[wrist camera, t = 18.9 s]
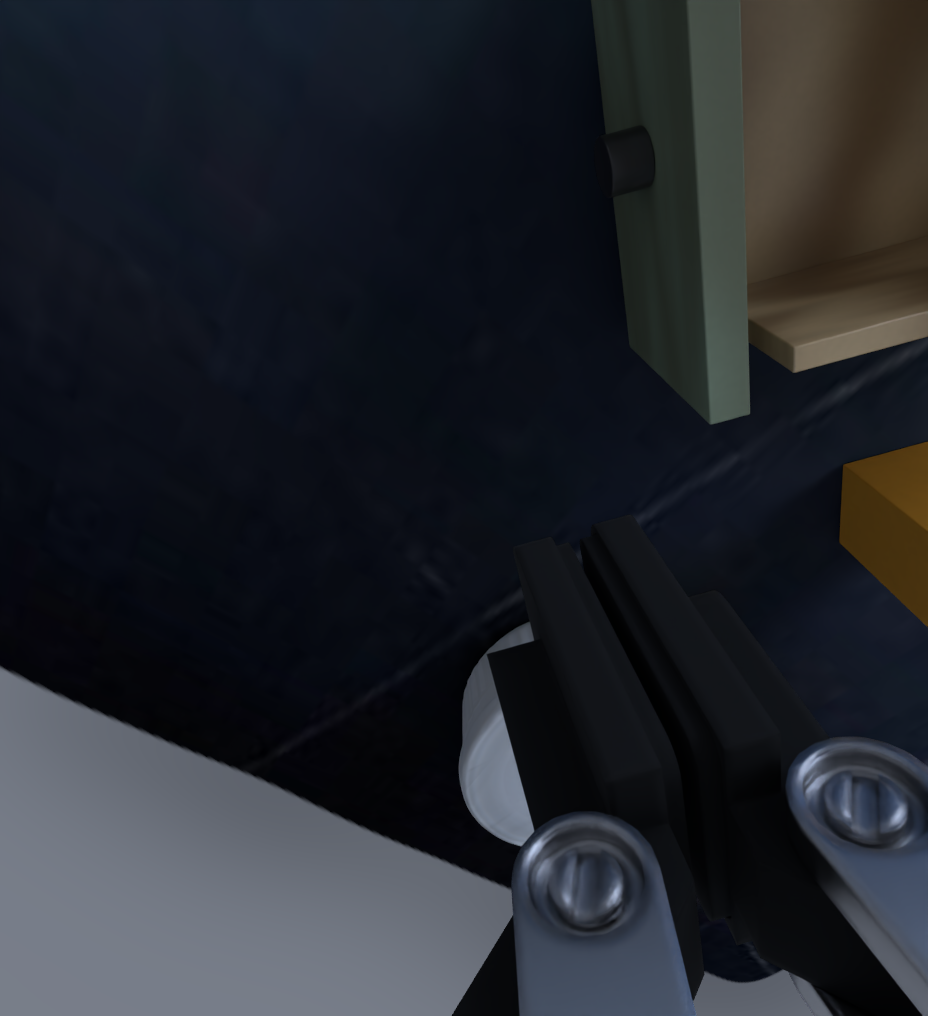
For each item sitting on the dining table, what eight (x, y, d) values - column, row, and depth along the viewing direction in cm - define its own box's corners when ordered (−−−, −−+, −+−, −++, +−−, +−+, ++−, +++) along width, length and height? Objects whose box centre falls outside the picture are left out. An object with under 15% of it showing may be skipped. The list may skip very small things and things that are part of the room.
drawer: (597, 355, 27) (669, 437, 21) (532, -118, 20) (613, -191, 14) (964, 255, 27) (1136, 309, 22) (1029, -250, 20) (1311, -375, 14)
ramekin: (598, 780, 41) (631, 870, 36) (407, 739, 37) (417, 833, 32) (715, 624, 36) (770, 705, 32) (510, 559, 32) (539, 639, 28)
